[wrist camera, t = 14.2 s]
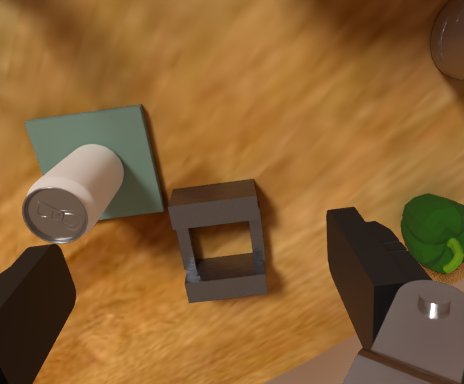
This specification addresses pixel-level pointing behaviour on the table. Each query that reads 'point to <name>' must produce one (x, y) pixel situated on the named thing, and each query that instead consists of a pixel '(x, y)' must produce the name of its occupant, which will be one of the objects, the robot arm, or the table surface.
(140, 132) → the mat
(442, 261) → the bell pepper
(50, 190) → the can
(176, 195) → the block
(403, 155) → the table surface
